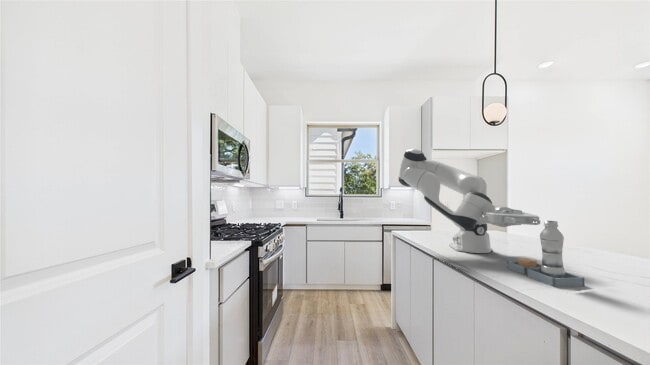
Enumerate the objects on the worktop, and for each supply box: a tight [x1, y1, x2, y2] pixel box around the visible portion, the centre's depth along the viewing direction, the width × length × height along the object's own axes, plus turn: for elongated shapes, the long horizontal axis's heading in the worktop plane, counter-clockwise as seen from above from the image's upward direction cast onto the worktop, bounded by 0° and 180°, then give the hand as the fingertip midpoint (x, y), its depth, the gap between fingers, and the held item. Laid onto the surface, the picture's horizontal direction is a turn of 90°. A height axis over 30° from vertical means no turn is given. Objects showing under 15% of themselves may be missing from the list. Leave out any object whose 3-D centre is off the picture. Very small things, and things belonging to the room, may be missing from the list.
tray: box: [526, 269, 585, 288], centre depth 94 cm, size 11×10×3 cm
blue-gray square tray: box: [506, 260, 542, 276], centre depth 105 cm, size 9×9×3 cm
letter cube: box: [517, 258, 538, 267], centre depth 105 cm, size 4×4×4 cm
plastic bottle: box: [539, 220, 566, 278], centre depth 95 cm, size 6×7×20 cm
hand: (527, 221), depth 107 cm, fingers open, 8 cm apart
